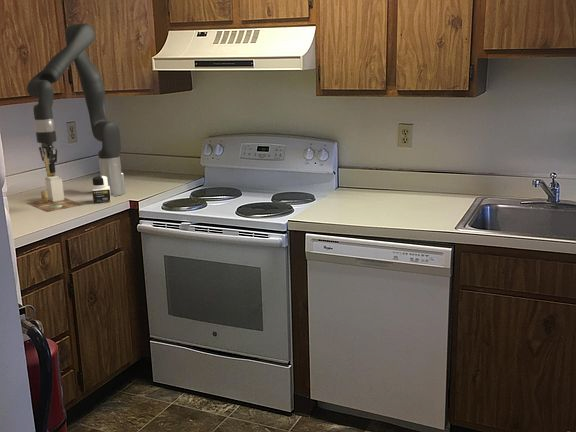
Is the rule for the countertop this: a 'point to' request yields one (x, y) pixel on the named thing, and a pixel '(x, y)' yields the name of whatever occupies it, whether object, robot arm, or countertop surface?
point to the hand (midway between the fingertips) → (50, 172)
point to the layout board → (53, 203)
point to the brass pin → (48, 168)
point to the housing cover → (54, 188)
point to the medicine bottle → (101, 190)
